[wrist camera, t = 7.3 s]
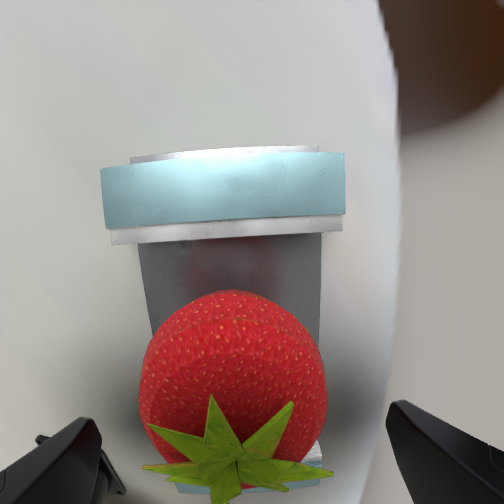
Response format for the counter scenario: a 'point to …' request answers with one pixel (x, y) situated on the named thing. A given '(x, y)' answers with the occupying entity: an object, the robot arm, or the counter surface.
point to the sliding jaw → (224, 197)
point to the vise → (236, 276)
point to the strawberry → (233, 395)
